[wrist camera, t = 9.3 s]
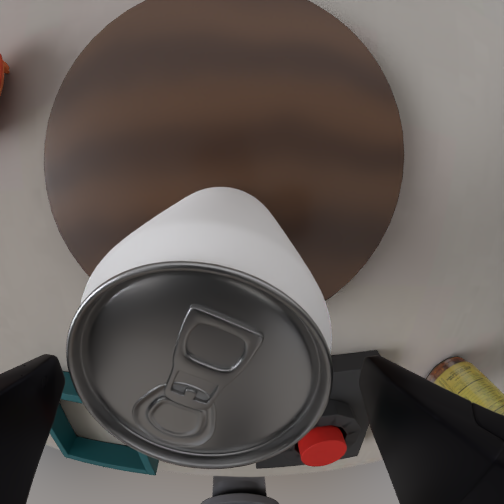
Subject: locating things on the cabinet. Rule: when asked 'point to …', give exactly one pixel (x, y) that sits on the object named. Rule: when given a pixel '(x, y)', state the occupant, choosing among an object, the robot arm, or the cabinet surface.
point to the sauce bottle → (468, 383)
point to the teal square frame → (95, 443)
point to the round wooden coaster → (227, 128)
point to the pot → (0, 69)
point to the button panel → (337, 410)
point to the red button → (322, 446)
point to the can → (204, 336)
